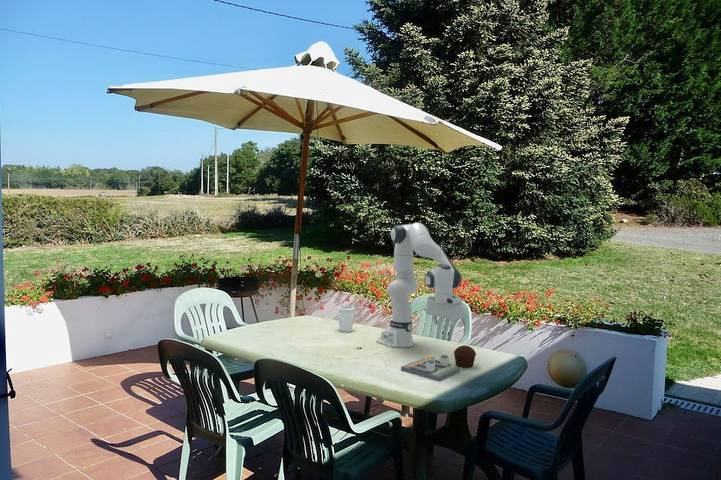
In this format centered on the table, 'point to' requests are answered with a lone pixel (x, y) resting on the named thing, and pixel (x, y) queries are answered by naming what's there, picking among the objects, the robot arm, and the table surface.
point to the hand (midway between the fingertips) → (444, 326)
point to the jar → (346, 318)
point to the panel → (438, 374)
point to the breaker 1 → (430, 366)
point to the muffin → (464, 357)
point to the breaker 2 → (444, 360)
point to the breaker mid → (430, 358)
